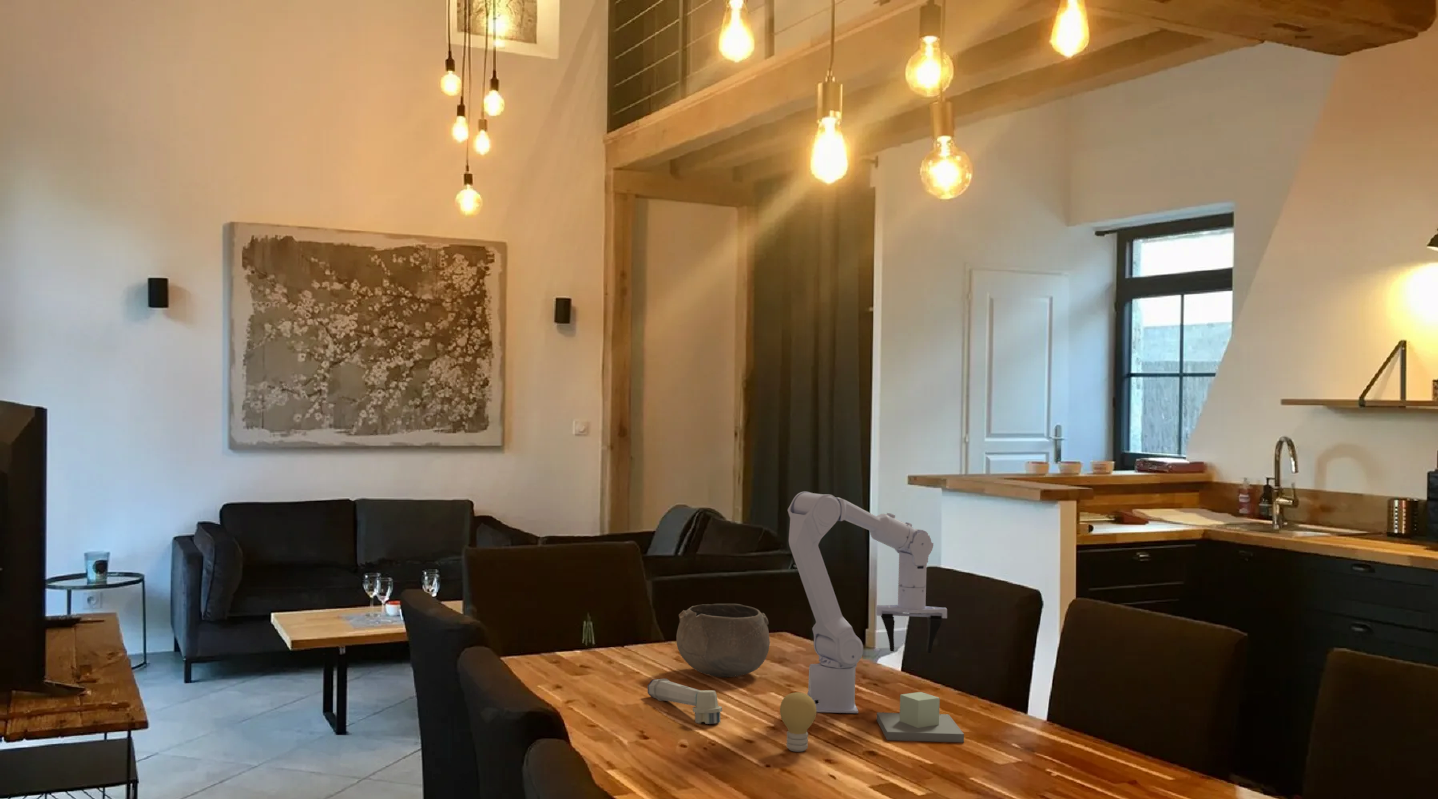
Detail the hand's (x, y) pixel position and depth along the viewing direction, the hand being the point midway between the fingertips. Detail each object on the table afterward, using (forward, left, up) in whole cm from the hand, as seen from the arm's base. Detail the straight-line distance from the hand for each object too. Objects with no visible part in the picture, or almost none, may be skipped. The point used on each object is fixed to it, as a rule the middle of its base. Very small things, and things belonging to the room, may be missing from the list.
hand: (910, 651), depth 239 cm
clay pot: (-39, +20, -11) cm, 45 cm away
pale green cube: (-2, -23, -9) cm, 25 cm away
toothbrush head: (-47, -13, -11) cm, 50 cm away
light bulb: (-26, -38, -11) cm, 47 cm away
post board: (-2, -23, -10) cm, 25 cm away
